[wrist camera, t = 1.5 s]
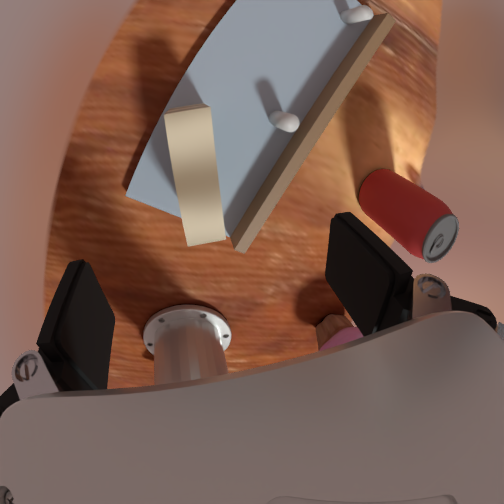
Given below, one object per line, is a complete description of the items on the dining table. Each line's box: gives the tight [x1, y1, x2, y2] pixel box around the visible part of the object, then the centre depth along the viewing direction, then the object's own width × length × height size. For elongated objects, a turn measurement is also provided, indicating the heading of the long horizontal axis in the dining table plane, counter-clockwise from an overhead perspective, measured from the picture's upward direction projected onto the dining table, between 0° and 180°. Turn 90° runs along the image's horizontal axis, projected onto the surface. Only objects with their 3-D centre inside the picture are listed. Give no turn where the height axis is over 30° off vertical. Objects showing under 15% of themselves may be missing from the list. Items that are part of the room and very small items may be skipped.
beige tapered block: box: [164, 103, 226, 246], centre depth 21 cm, size 10×3×7 cm, turn 4°
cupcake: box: [316, 314, 364, 351], centre depth 40 cm, size 9×9×10 cm
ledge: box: [125, 0, 396, 254], centre depth 21 cm, size 30×14×4 cm, turn 149°
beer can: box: [359, 169, 459, 263], centre depth 27 cm, size 7×7×12 cm
